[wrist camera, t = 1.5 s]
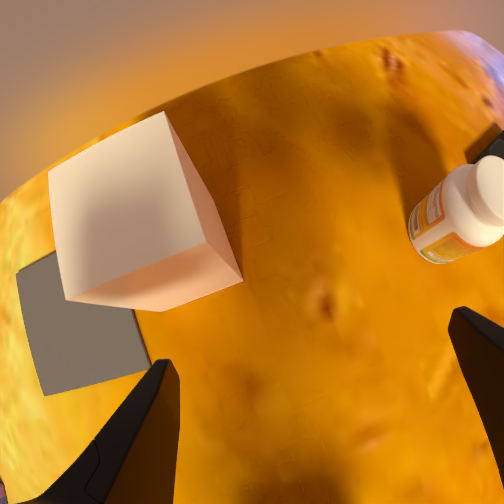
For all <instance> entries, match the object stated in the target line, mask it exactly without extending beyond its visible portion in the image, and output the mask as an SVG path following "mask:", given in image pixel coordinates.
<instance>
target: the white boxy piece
mask: <svg viewBox="0 0 504 504" xmlns="http://www.w3.org/2000/svg"><path fill="white" fill-rule="evenodd" d="M48 181H49V194H50V205H51V215H52V223H53V231H54V239H55V245H56V252H57V258H58V264H59V269H60V275H61V280H62V285H63V290H64V294H65V299H66V300H68V301H75V302H82V303H90V304H97V305H105V306H113V307H122V308H130V309H139V310H149V311H159V312H163V311H166V310H169V309H171V308H174V307H177V306H180V305H182V304H185V303H188V302H190V301H193V300H196V299H198V298H201V297H204V296H206V295H209V294H212V293H214V292H217V291H219V290H222V289H225V288H227V287H230V286H233V285H235V284H238V283H240V282H243V278H242V275H241V273H240V270H239V267H238V265H237V262H236V259H235V257H234V254H233V251H232V249H231V246H230V243H229V240H228V238H227V235H226V232H225V230H224V227H223V224H222V221H221V219H220V216H219V213H218V211H217V208H216V205H215V202H214V200H213V199H212V197H211V195H210V193H209V191H208V190H207V188H206V186H205V184H204V182H203V181H202V179H201V177H200V175H199V173H198V172H197V170H196V168H195V166H194V164H193V163H192V161H191V159H190V157H189V155H188V154H187V152H186V150H185V148H184V146H183V145H182V143H181V141H180V139H179V137H178V136H177V134H176V132H175V130H174V128H173V126H172V125H171V123H170V121H169V119H168V117H167V116H166V114H165V112H164V111H163V112H160V113H158V114H156V115H154V116H151V117H149V118H147V119H145V120H143V121H141V122H138V123H136V124H134V125H132V126H130V127H128V128H126V129H124V130H122V131H120V132H118V133H116V134H114V135H112V136H110V137H108V138H106V139H104V140H102V141H100V142H99V143H97V144H95V145H93V146H91V147H89V148H88V149H86V150H84V151H82V152H80V153H79V154H77V155H75V156H73V157H72V158H70V159H68V160H67V161H65V162H63V163H62V164H60V165H58V166H57V167H55V168H53V169H52V170H50V171H49V172H48Z"/></svg>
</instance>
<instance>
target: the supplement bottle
mask: <svg viewBox="0 0 504 504" xmlns="http://www.w3.org/2000/svg"><path fill="white" fill-rule="evenodd" d="M408 231H409V237H410V240H411V242H412V245H413V246H414V248H415V250H416V251H417V252H418V253H419V254H420V255H421V256H422V257H423V258H424V259H426V260H428V261H430V262H432V263H436V264H445V263H448V262H451V261H454V260H456V259H459V258H461V257H463V256H466V255H468V254H471V253H473V252H475V251H478V250H480V249H482V248H485V247H487V246H489V245H491V244H493V243H495V242H496V241H498V240H499V239H500V238H501V237H502V236H503V234H504V160H503V159H501V158H499V157H497V156H485V157H483V158H482V159H480V160H479V161H478V162H477V163H476V164H464V165H461V166H459V167H457V168H455V169H454V170H453V171H451V172H450V173H449V174H448V175H447V176H446V177H445V178H444V179H443V180H442V181H441V182H440V183H439V184H438V185H437V186H436V187H435V188H434V189H433V190H432V191H431V192H430V193H429V194H428V195H427V196H426V197H424V198H423V199H422V200H421V201H420V202H419V203H418V204H417V205H416V206H415V208H414V209H413V211H412V213H411V215H410V218H409V223H408Z"/></svg>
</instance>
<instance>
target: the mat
mask: <svg viewBox="0 0 504 504" xmlns="http://www.w3.org/2000/svg"><path fill="white" fill-rule="evenodd" d="M16 279H17V286H18V293H19V299H20V304H21V310H22V315H23V320H24V324H25V329H26V333H27V338H28V342H29V346H30V350H31V354H32V358H33V361H34V365H35V368H36V372H37V375H38V378H39V382H40V385H41V388H42V391H43V394H44V396H48V395H52V394H57V393H61V392H65V391H69V390H73V389H77V388H81V387H85V386H89V385H93V384H97V383H100V382H104V381H108V380H112V379H115V378H119V377H122V376H126V375H129V374H133V373H136V372H140V371H143V370H146V369H150V367H151V363H150V360H149V357H148V354H147V351H146V349H145V346H144V343H143V340H142V337H141V334H140V330H139V327H138V324H137V321H136V318H135V315H134V311H133V309H130V308H122V307H113V306H105V305H97V304H90V303H82V302H75V301H68V300H66V299H65V294H64V290H63V285H62V280H61V275H60V269H59V264H58V258H57V252H55V253H53V254H51V255H50V256H48V257H46V258H44V259H42V260H40V261H38V262H37V263H35V264H33V265H31V266H29V267H27V268H26V269H24V270H22V271H20V272H19V273H17V274H16Z"/></svg>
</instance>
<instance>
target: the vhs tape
mask: <svg viewBox="0 0 504 504" xmlns="http://www.w3.org/2000/svg"><path fill="white" fill-rule="evenodd" d="M485 156H497V157H499V158H501V159H503V160H504V130H503V131H502V132H501V133H500V134H499V135H498V136H497V138H496V139H495V140H494V141H493V142H492V143H491V144H490V145H489V146H488V147H487V148H486V149H485V150H484V151H483V152H482V153H481V154H480V155H479V156H478V157H477V158H476V159H475V160H474V161H473V162H472V163H471V164H476V163H477V162H478V161H479V160H480V159H482V158H483V157H485Z"/></svg>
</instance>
